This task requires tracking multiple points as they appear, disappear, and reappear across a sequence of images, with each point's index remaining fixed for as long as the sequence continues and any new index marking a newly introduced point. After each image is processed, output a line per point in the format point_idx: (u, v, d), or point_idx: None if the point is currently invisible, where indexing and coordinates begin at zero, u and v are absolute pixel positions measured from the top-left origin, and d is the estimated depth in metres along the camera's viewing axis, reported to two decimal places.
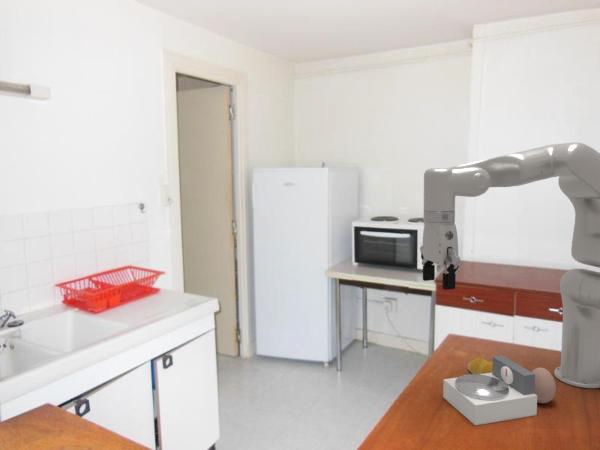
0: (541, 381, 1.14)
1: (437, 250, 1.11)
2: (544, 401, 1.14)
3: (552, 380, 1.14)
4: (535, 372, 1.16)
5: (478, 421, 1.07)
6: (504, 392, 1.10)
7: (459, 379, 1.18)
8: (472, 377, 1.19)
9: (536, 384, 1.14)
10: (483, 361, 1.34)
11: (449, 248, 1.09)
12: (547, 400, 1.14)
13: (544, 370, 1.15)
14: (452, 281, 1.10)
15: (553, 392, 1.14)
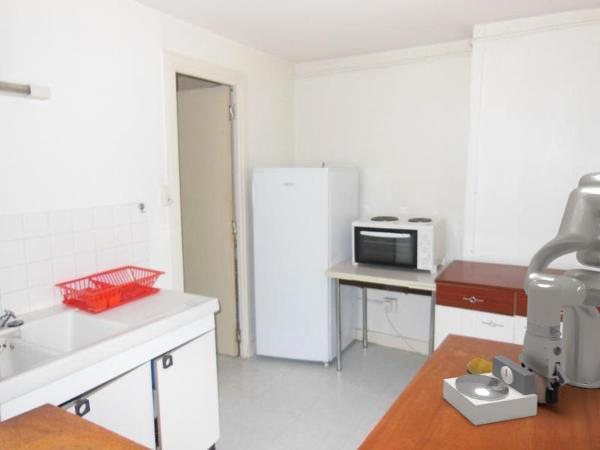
0: (541, 381, 1.14)
1: (544, 364, 1.12)
2: (544, 401, 1.14)
3: (552, 380, 1.14)
4: (535, 372, 1.16)
5: (478, 421, 1.07)
6: (504, 392, 1.10)
7: (459, 379, 1.18)
8: (472, 377, 1.19)
9: (536, 384, 1.14)
10: (482, 361, 1.34)
11: (557, 365, 1.11)
12: None
13: None
14: (556, 396, 1.12)
15: None
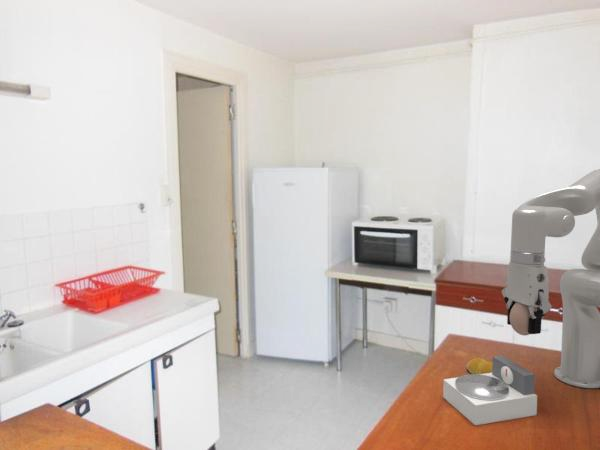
0: (524, 310, 1.11)
1: (527, 292, 1.09)
2: (527, 332, 1.11)
3: (535, 310, 1.11)
4: (518, 303, 1.13)
5: (478, 421, 1.07)
6: (504, 392, 1.10)
7: (459, 379, 1.18)
8: (472, 377, 1.19)
9: (519, 314, 1.11)
10: (482, 361, 1.35)
11: (540, 292, 1.08)
12: None
13: None
14: (539, 326, 1.09)
15: None
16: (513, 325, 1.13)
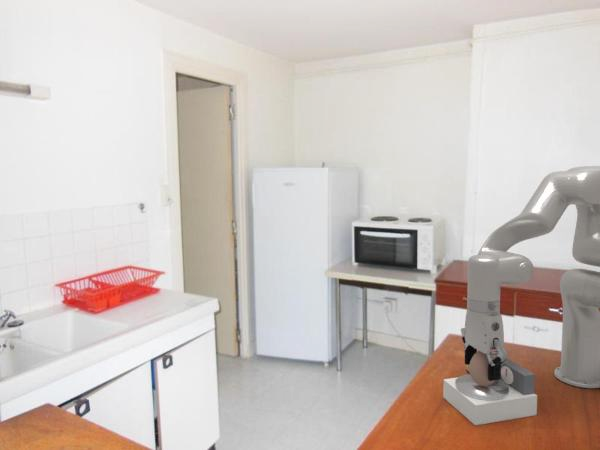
0: (482, 363, 1.11)
1: (482, 340, 1.09)
2: (485, 384, 1.12)
3: None
4: (477, 354, 1.13)
5: (478, 421, 1.07)
6: (504, 392, 1.10)
7: (459, 379, 1.18)
8: None
9: (477, 366, 1.12)
10: None
11: (495, 339, 1.08)
12: (488, 383, 1.11)
13: None
14: (498, 372, 1.08)
15: None
16: (472, 376, 1.13)
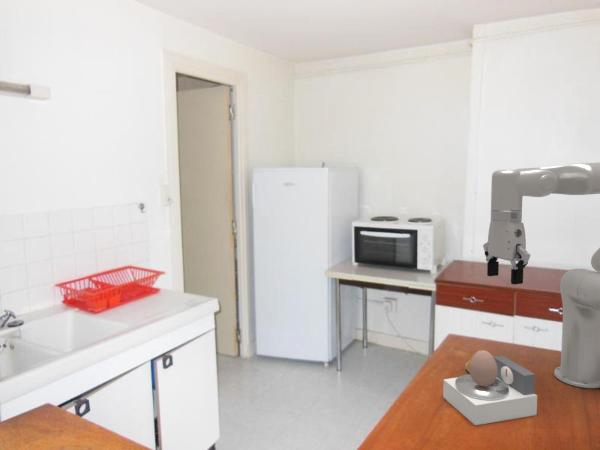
0: (482, 363, 1.11)
1: (506, 247, 1.17)
2: (485, 384, 1.12)
3: (493, 363, 1.11)
4: (476, 355, 1.13)
5: (478, 421, 1.07)
6: (504, 392, 1.10)
7: (459, 379, 1.18)
8: None
9: (477, 367, 1.12)
10: None
11: (518, 245, 1.16)
12: (488, 383, 1.11)
13: (485, 352, 1.12)
14: (520, 276, 1.16)
15: (494, 375, 1.11)
16: (472, 376, 1.13)
